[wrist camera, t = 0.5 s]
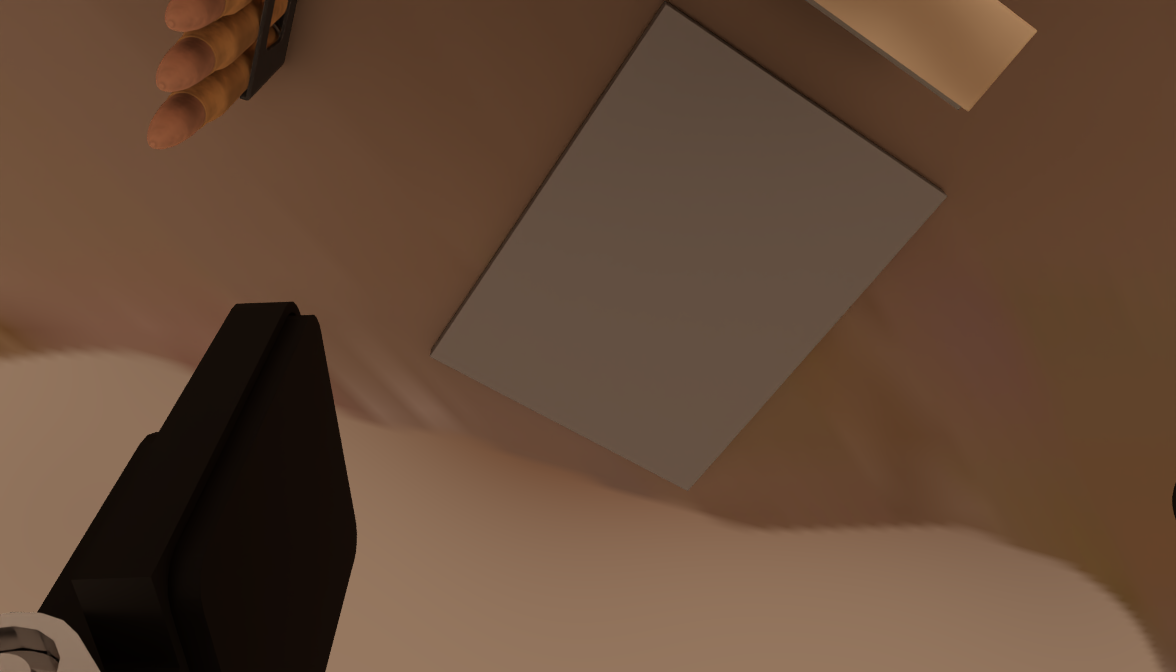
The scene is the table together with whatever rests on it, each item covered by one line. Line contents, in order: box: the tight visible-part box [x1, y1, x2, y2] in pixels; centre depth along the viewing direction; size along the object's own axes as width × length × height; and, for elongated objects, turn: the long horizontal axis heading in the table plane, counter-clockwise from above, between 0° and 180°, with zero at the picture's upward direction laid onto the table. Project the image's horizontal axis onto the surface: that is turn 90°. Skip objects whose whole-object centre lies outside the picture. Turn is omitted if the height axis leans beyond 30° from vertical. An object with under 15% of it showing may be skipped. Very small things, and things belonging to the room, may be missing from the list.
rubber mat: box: [430, 1, 947, 491], centre depth 44 cm, size 18×14×1 cm
